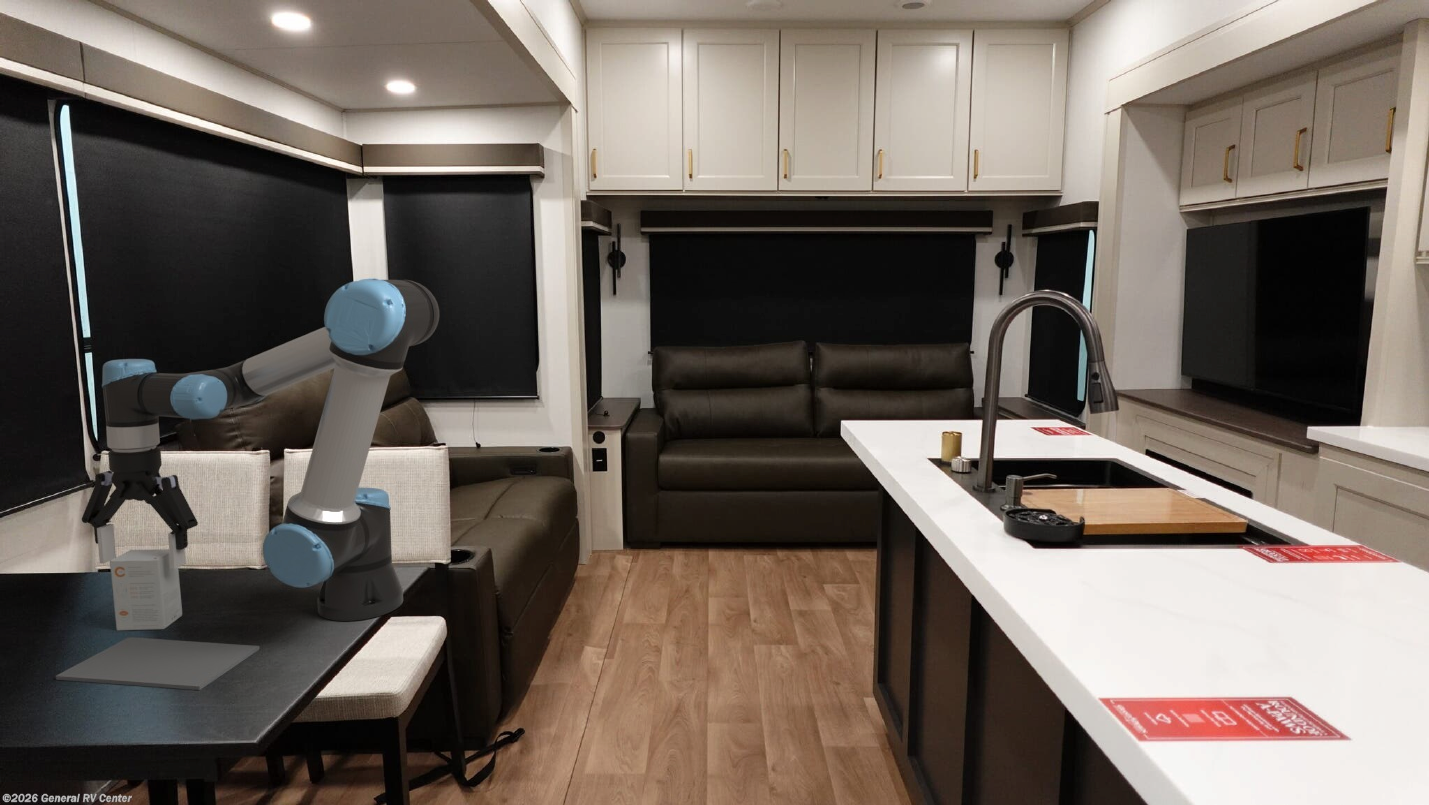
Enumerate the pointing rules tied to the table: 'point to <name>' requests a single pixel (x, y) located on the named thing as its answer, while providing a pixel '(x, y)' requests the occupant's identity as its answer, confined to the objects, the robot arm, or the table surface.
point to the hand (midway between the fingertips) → (142, 563)
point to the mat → (160, 663)
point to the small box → (145, 590)
